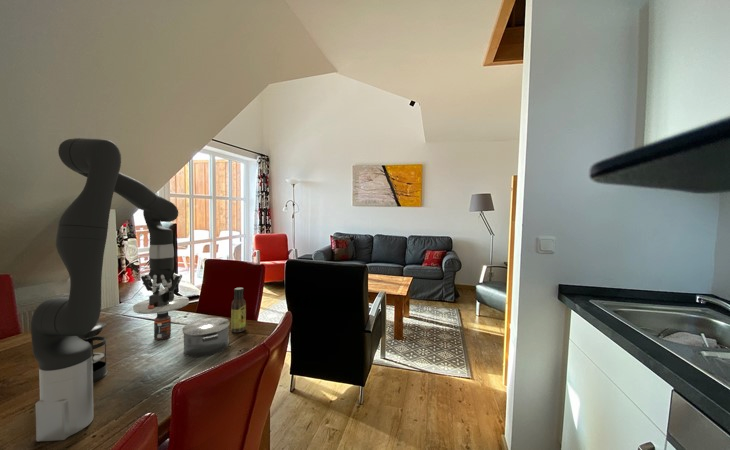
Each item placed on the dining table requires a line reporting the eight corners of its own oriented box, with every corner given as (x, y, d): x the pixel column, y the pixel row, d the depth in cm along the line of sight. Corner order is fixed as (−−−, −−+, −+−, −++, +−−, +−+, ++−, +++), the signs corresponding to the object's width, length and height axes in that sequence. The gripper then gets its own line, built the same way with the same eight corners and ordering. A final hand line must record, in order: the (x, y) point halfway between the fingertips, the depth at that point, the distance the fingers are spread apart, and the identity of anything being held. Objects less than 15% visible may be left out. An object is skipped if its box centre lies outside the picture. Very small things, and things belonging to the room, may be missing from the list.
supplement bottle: (162, 341, 119) (161, 315, 118) (150, 339, 120) (150, 313, 119) (174, 335, 125) (174, 310, 124) (163, 334, 126) (162, 309, 125)
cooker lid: (173, 313, 98) (173, 298, 98) (120, 314, 96) (120, 299, 96) (197, 298, 115) (196, 286, 115) (152, 299, 113) (152, 286, 113)
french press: (111, 366, 99) (110, 302, 98) (109, 378, 92) (108, 309, 91) (62, 378, 92) (61, 309, 91) (56, 392, 84) (54, 317, 84)
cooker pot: (234, 352, 110) (234, 330, 110) (184, 365, 101) (183, 340, 100) (225, 332, 128) (225, 313, 128) (181, 341, 119) (181, 320, 118)
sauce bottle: (243, 333, 128) (243, 290, 128) (229, 333, 127) (229, 290, 127) (247, 327, 135) (247, 286, 134) (233, 327, 134) (233, 286, 133)
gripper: (134, 257, 100) (135, 305, 101) (176, 257, 102) (176, 304, 103) (148, 254, 108) (148, 298, 108) (186, 254, 109) (187, 298, 110)
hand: (162, 301), depth 106 cm, fingers closed on cooker lid, 3 cm apart
